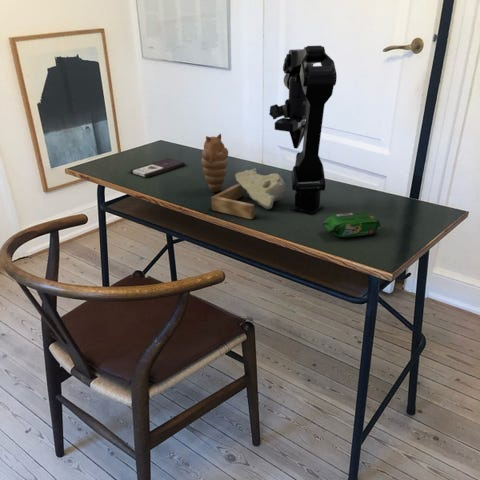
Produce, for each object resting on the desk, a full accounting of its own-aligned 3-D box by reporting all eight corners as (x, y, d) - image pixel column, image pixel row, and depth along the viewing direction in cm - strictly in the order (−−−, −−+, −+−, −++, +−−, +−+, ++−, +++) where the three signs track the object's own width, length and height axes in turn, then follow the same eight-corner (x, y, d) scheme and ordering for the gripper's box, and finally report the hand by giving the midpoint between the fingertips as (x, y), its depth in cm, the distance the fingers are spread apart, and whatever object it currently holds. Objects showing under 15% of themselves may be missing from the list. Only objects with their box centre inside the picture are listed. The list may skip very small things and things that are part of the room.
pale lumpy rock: (291, 214, 158) (288, 170, 163) (283, 202, 152) (280, 158, 156) (244, 224, 164) (243, 182, 168) (235, 214, 157) (233, 170, 162)
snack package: (318, 231, 142) (319, 213, 139) (371, 225, 145) (374, 207, 142) (327, 242, 137) (329, 224, 134) (383, 235, 139) (386, 217, 136)
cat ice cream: (210, 198, 165) (207, 139, 155) (197, 191, 170) (194, 134, 160) (233, 192, 169) (232, 135, 159) (220, 186, 174) (218, 129, 164)
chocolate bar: (184, 162, 193) (146, 174, 182) (184, 165, 194) (147, 177, 182) (168, 158, 198) (130, 169, 187) (168, 160, 199) (130, 172, 188)
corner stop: (276, 203, 160) (276, 191, 158) (251, 219, 150) (251, 206, 148) (238, 195, 167) (237, 183, 164) (211, 210, 157) (211, 197, 154)
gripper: (289, 88, 169) (287, 138, 177) (259, 98, 156) (259, 152, 164) (320, 91, 164) (317, 142, 172) (292, 102, 151) (290, 157, 159)
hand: (295, 148), depth 167 cm, fingers closed
